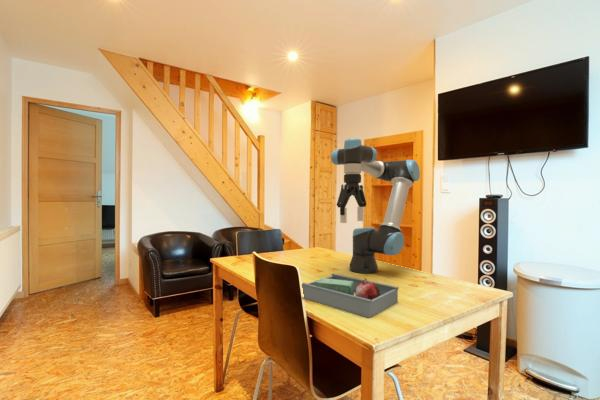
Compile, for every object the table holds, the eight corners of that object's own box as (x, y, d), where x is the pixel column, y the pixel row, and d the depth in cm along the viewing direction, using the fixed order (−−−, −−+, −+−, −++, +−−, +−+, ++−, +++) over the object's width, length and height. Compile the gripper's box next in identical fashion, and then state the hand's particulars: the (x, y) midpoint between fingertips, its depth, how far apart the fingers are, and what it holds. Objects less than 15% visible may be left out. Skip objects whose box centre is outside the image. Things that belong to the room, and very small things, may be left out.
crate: (333, 286, 139) (333, 273, 139) (398, 302, 119) (398, 287, 119) (301, 297, 123) (301, 283, 123) (369, 318, 103) (369, 301, 103)
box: (351, 305, 115) (351, 285, 115) (315, 301, 120) (315, 281, 120) (354, 299, 122) (354, 280, 122) (320, 295, 127) (320, 277, 127)
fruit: (382, 302, 118) (382, 276, 118) (376, 311, 110) (376, 282, 109) (358, 299, 122) (359, 273, 122) (351, 306, 114) (351, 279, 114)
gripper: (360, 175, 150) (359, 219, 150) (328, 172, 132) (328, 223, 132) (374, 175, 145) (373, 220, 145) (343, 171, 127) (343, 224, 127)
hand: (352, 222), depth 139 cm, fingers open, 13 cm apart
